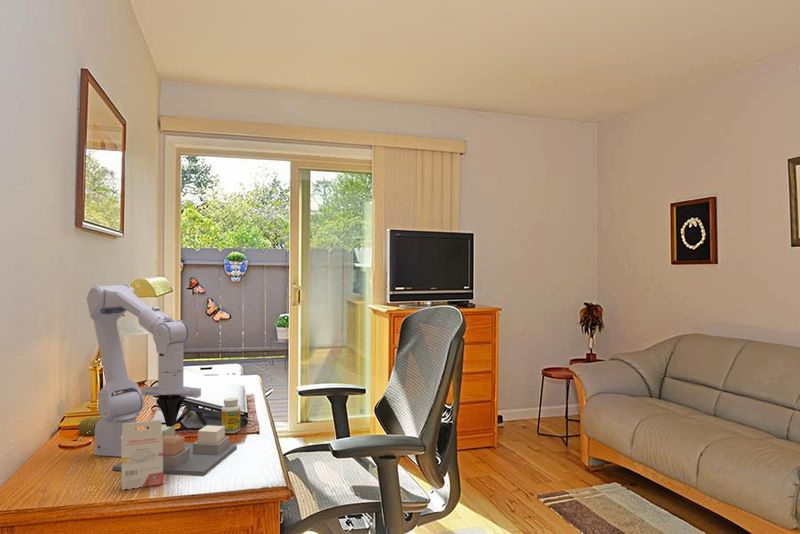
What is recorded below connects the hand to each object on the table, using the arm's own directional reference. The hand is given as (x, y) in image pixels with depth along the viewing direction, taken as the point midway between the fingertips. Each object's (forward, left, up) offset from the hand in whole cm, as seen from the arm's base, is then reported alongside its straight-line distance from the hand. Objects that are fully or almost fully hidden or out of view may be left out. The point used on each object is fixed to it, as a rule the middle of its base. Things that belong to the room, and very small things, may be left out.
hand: (170, 425), depth 138 cm
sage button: (-7, +9, -7) cm, 13 cm away
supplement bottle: (+3, +29, -10) cm, 30 cm away
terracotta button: (0, 0, -7) cm, 7 cm away
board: (-1, +5, -10) cm, 11 cm away
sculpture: (-36, +22, -10) cm, 43 cm away
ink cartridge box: (-1, -11, -10) cm, 15 cm away
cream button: (+6, +10, -7) cm, 13 cm away
